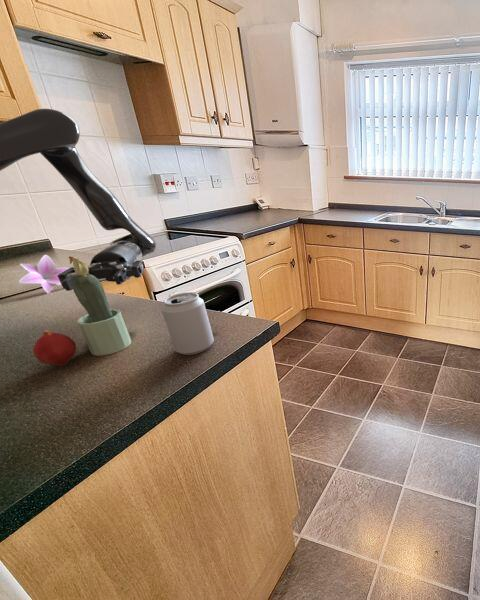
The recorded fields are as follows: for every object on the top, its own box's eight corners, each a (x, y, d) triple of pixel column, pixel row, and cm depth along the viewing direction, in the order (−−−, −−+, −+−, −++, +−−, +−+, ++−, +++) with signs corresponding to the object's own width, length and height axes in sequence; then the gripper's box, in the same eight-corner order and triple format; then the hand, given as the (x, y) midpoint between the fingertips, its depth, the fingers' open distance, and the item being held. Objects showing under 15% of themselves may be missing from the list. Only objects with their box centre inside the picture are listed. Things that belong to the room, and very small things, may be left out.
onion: (39, 367, 67) (20, 332, 64) (76, 354, 71) (61, 320, 68) (48, 377, 64) (29, 341, 61) (86, 362, 68) (70, 328, 65)
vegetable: (128, 341, 75) (94, 254, 67) (105, 351, 71) (67, 260, 63) (116, 337, 76) (82, 252, 68) (94, 346, 73) (55, 258, 65)
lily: (18, 302, 99) (19, 276, 95) (15, 278, 104) (16, 252, 100) (74, 301, 108) (78, 277, 104) (69, 279, 114) (72, 256, 110)
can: (173, 346, 74) (156, 296, 69) (210, 335, 78) (197, 287, 73) (179, 361, 68) (161, 308, 64) (218, 348, 73) (205, 297, 68)
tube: (85, 358, 70) (71, 326, 66) (97, 342, 75) (84, 312, 72) (126, 351, 72) (114, 320, 69) (135, 336, 78) (124, 307, 75)
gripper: (74, 250, 80) (40, 270, 66) (145, 244, 85) (127, 261, 72) (86, 280, 83) (56, 305, 69) (154, 272, 88) (138, 294, 75)
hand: (92, 283), depth 70 cm, fingers open, 8 cm apart
